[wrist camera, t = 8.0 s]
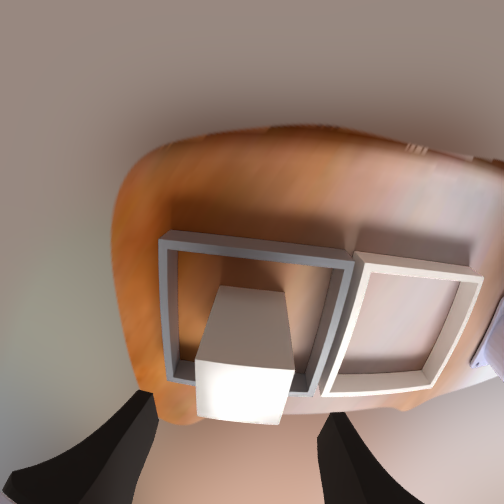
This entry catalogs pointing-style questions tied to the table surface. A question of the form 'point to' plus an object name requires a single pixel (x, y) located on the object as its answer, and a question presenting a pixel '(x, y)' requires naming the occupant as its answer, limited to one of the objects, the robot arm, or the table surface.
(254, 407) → the white rectangular block
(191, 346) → the table surface
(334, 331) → the bin
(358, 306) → the bin
